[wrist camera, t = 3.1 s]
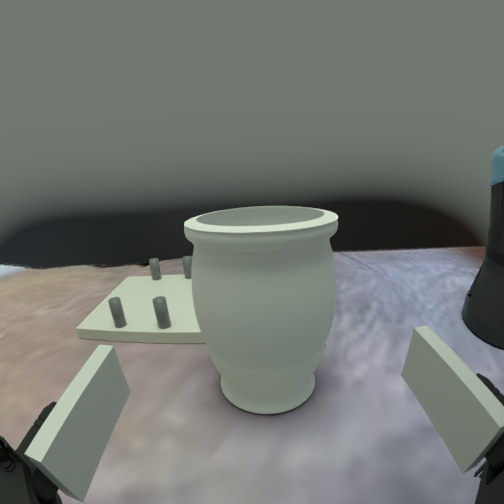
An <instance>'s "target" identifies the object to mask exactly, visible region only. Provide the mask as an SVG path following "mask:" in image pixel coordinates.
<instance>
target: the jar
mask: <svg viewBox="0 0 504 504" xmlns="http://www.w3.org/2000/svg"><path fill="white" fill-rule="evenodd" d="M337 219H338V215H337V214H335V213H333V212H330V211H326V210H321V209H315V208H306V207H295V206H258V207H244V208H235V209H228V210H221V211H216V212H211V213H207V214H203V215H200V216H196V217H194V218H191V219H189V220H187V221H186V222H185V223H184V225H185V228H184V232H185V235H186V237H187V239H188V240H189V241H191V242H192V243H194V252H193V258H192V269H191V283H192V296H193V304H194V309H195V314H196V318H197V321H198V325H199V328H200V330H201V333H202V335H203V338H204V340H205V342H206V346H207V349H208V352H209V355H210V357H211V360H212V362H213V364H214V366H215V367H216V369H217V371H218V372H219V373H220V375H221V389H222V391H223V394H224V395H225V397H226V398H227V399H228V400H229V401H230V402H231V403H232V404H234V405H235V406H237V407H239V408H241V409H243V410H246V411H249V412H252V413H259V414H276V413H281V412H285V411H288V410H291V409H294V408H296V407H297V406H299V405H301V404H302V403H303V402H305V401H306V400H307V399H308V398H309V397H310V395H311V394H312V392H313V390H314V387H315V376H314V372H315V370H316V369H317V367H318V365H319V363H320V361H321V358H322V356H323V353H324V349H325V346H326V341H327V337H328V335H329V331H330V328H331V324H332V320H333V316H334V310H335V301H336V273H335V264H334V257H333V253H332V249H331V245H330V242H329V238H330V237H331V236H332V235H333V234H334V233H335V232H336V230H337V227H338V222H337Z"/></svg>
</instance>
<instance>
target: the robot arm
mask: <svg viewBox="0 0 504 504" xmlns="http://www.w3.org/2000/svg"><path fill="white" fill-rule="evenodd" d="M490 186H491V206H490V219H489V229H488V237H487V246H486V253H485V258H484V261H483V263H482V266H481V268H480V270H479V272H478V274H477V276H476V278H475V280H474V282H473V284H472V286H471V288H470V290H469V291H468V293H467V295H466V298H465V302H464V306H463V310H462V316H463V319H464V321H465V323H466V324H467V326H468V327H469V328H470V329H471V330H472V331H473V332H474V333H475V334H476V335H478V336H479V337H480V338H482V339H483V340H485V341H487V342H489V343H491V344H493V345H495V346H498V347H500V348H504V146H502V147H500V148H498V149H496V150H495V152H494V153H493V155H492V160H491V181H490ZM401 375H402V377H403V378H404V380H405V381H406V383H407V384H408V386H409V387H410V389H411V390H412V392H413V393H414V395H415V396H416V398H417V400H418V401H419V403H420V404H421V406H422V407H423V409H424V410H425V412H426V414H427V415H428V417H429V418H430V420H431V421H432V423H433V425H434V426H435V428H436V429H437V431H438V433H439V434H440V436H441V438H442V439H443V441H444V443H445V444H446V446H447V448H448V449H449V451H450V453H451V454H452V456H453V458H454V460H455V461H456V463H457V465H458V467H459V468H460V470H461V472H462V474H463V473H465V472H467V471H468V470H470V469H472V468H473V467H475V466H476V465H477V464H478V463H479V462H480V461H481V460H482V459H483V458H484V456H485V458H486V459H487V460H486V462H485V463H484V464H483V465H482V466H481V467H480V468H479V469H478V470H477V471H476V472H475V475H474V477H476V476H477V475H478V474H479V473H480V472H481V471H482V470H483V471H482V473H481V475H480V476H479V477H481V481H480V485H479V490H478V494H477V498H476V501H475V504H504V396H503V395H502V394H500V391H499V390H498V389H497V388H495V386H494V385H493V384H492V383H491V382H490V380H489V379H487V378H486V377H484V376H482V375H480V374H479V373H478V374H476V375H475V374H474V372H473V371H472V370H471V369H470V368H469V367H468V366H467V365H466V364H465V363H464V362H463V361H462V360H461V359H460V358H459V357H458V356H457V355H456V354H455V353H454V352H453V351H452V350H451V349H450V348H449V347H448V346H447V344H446V343H445V342H444V341H442V340H441V339H440V338H439V337H438V336H437V335H436V334H435V333H434V332H433V331H432V330H431V329H430V328H429V327H428V326H427V325H426V326H422V327H417V328H414V331H413V335H412V339H411V343H410V346H409V350H408V354H407V357H406V360H405V364H404V367H403V370H402V373H401ZM130 392H131V391H130V389H129V386H128V384H127V381H126V379H125V376H124V374H123V371H122V368H121V366H120V363H119V360H118V357H117V354H116V351H115V349H114V346H108V345H99V346H98V347H97V349H96V350H95V351H94V353H93V354H92V355H91V357H90V358H89V359H88V361H87V362H86V363H85V365H84V366H83V367H82V369H81V370H80V371H79V373H78V374H77V376H76V377H75V378H74V380H73V381H72V382H71V384H70V385H69V387H68V388H67V390H66V391H65V392H64V394H63V395H62V397H61V398H60V400H59V401H58V402H57V403H56V402H52V403H51V404H49V405H48V406H47V407H45V408H44V409H43V411H42V412H41V413H40V415H39V416H38V419H36V421H35V422H34V426H32V427H31V428H30V430H29V431H28V433H27V434H26V436H25V437H24V439H23V440H22V442H21V444H20V445H19V447H18V448H17V450H16V451H14V450H13V449H12V447H11V446H10V445H9V444H8V443H7V441H6V440H5V439H4V438H3V437H1V436H0V504H62V501H61V498H60V496H59V495H58V493H57V491H58V489H60V490H61V491H62V492H63V493H65V494H66V495H67V496H69V497H72V498H74V499H76V500H79V501H81V502H84V499H85V497H86V494H87V492H88V489H89V486H90V484H91V481H92V479H93V476H94V474H95V471H96V469H97V467H98V464H99V462H100V459H101V457H102V455H103V452H104V450H105V448H106V445H107V443H108V441H109V438H110V436H111V434H112V431H113V429H114V427H115V425H116V423H117V420H118V418H119V416H120V414H121V412H122V409H123V407H124V405H125V403H126V401H127V399H128V396H129V394H130Z"/></svg>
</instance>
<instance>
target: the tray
mask: <svg viewBox="0 0 504 504" xmlns="http://www.w3.org/2000/svg"><path fill="white" fill-rule="evenodd" d="M182 259H183V266H184V273H185V275H163V276H161V273H160V267H159V261H158V258H153V259H150V260H149V262H150V268H151V274H152V276H140V277H127V278H126V279H125V280H124V281H123V282H122V283H121V284H120V285H119V286H118V287H117V288H116V289H115V290H114V291H113V292H112V293H110V294H109V295H108V296H107V297H106V298H105V299H104V300H103V301H102V302H101V303H100V304H99V305H98V306H97V307H96V308H95V309H94V310H93V311H92V312H91V313H90V314H89V315H88V317H87V318H86V319H85V320H84V321H83V322H82V323H81V324H80V325H79V326H78V327H77V328H76V330H77V332H78V335H79V338H84V339H95V340H107V341H122V342H142V343H206V342H205V340H204V338H203V335H202V333H201V330H200V328H199V325H198V321H197V318H196V314H195V309H194V304H193V296H192V283H191V269H192V257H191V256H186V257H183V258H182Z"/></svg>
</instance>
